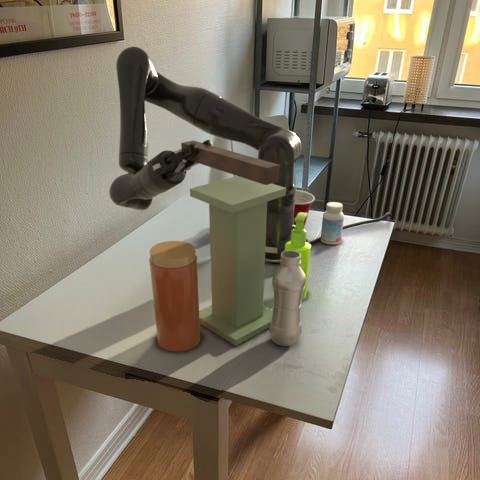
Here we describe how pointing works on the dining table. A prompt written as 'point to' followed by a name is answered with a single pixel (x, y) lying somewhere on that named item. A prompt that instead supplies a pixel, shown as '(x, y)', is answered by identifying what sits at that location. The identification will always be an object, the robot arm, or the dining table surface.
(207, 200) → the plant stand
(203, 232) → the dining table surface
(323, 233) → the pill bottle
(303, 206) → the plastic cup
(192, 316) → the terracotta jar
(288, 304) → the plastic bottle
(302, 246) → the soap dispenser
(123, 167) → the robot arm
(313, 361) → the dining table surface
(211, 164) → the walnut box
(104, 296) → the dining table surface
